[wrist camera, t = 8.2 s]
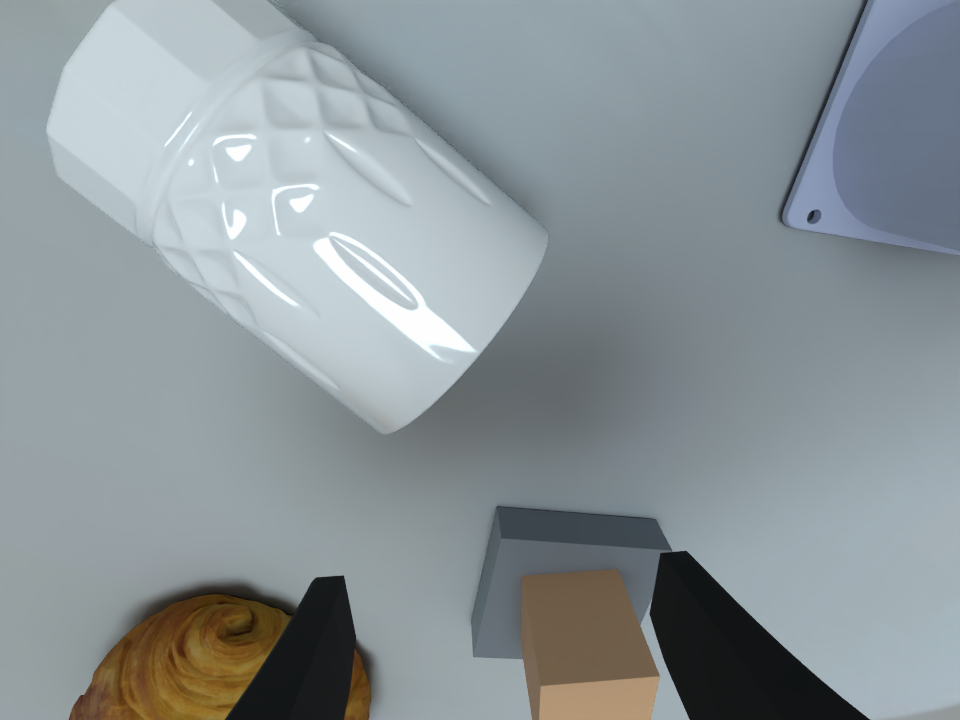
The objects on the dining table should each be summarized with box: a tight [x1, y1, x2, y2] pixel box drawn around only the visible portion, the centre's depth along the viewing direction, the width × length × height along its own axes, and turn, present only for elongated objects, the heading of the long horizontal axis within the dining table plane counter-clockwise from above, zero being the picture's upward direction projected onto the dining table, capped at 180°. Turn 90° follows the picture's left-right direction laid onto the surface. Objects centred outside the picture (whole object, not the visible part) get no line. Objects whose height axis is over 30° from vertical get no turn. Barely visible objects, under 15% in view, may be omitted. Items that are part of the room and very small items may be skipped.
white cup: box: [46, 0, 549, 434], centre depth 14 cm, size 8×8×10 cm
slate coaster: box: [471, 507, 672, 659], centre depth 25 cm, size 8×8×2 cm
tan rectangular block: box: [520, 569, 660, 720], centre depth 22 cm, size 4×4×5 cm
